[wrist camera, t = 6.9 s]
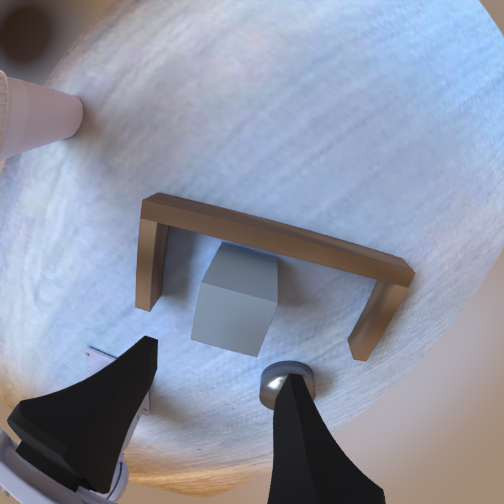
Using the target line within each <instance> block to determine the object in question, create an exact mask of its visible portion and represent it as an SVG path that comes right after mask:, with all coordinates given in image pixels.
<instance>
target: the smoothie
mask: <svg viewBox="0 0 504 504" xmlns="http://www.w3.org/2000/svg"><path fill="white" fill-rule="evenodd" d="M82 119H83V105H82V102H81V100H80V99H79V98H78V97H76V96H73V95H70V94H67V93H63V92H60V91H57V90H54V89H50V88H47V87H44V86H40V85H37V84H33V83H29V82H25V81H22V80H18V79H14V78H10V77H7V76H6V74H5V73H4V72H3V71H1V70H0V161H1V160H4V159H7V158H9V157H11V156H14V155H17V154H19V153H22V152H25V151H28V150H31V149H34V148H37V147H40V146H43V145H46V144H50V143H53V142H56V141H60V140H64V139H67V138H70V137H72V136H73V135H74V134H75V133H76V132H77V131H78V129H79V127H80V125H81V122H82Z"/></svg>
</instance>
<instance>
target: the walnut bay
mask: <svg viewBox="0 0 504 504" xmlns="http://www.w3.org/2000/svg"><path fill="white" fill-rule="evenodd" d="M169 226H173V227H177V228H181V229H185V230H189V231H193V232H197V233H201V234H205V235H208V236H212V237H216V238H220V239H224V240H228V241H232V242H236V243H240V244H243V245H247V246H251V247H255V248H259V249H263V250H267V251H270V252H274V253H278V254H282V255H286V256H290V257H293V258H297V259H301V260H305V261H309V262H312V263H316V264H320V265H324V266H328V267H331V268H335V269H339V270H343V271H347V272H350V273H354V274H358V275H362V276H365V277H369V278H373V279H377V280H378V281H377V283H376V285H375V287H374V290H373V292H372V294H371V296H370V298H369V300H368V302H367V304H366V306H365V308H364V310H363V312H362V314H361V316H360V318H359V320H358V322H357V324H356V325H355V327H354V329H353V331H352V333H351V335H350V336H349V338H348V343H349V346H350V350H351V353H352V356H353V360H360V361H367V359H368V358H369V356H370V354H371V353H372V351H373V350H374V348H375V347H376V345H377V343H378V342H379V340H380V338H381V337H382V335H383V333H384V332H385V330H386V328H387V327H388V325H389V323H390V321H391V319H392V318H393V316H394V314H395V312H396V310H397V309H398V307H399V305H400V303H401V301H402V299H403V297H404V295H405V293H406V291H407V289H408V287H409V285H410V283H411V281H412V279H413V277H414V275H415V272H414V271H413V270H412V269H411V268H410V267H409V265H408V264H407V263H406V262H405V261H404V260H403V259H402V258H399V257H396V256H393V255H390V254H387V253H383V252H380V251H377V250H374V249H370V248H367V247H364V246H361V245H357V244H354V243H351V242H347V241H344V240H340V239H337V238H334V237H330V236H327V235H323V234H320V233H316V232H313V231H309V230H305V229H302V228H298V227H295V226H291V225H287V224H284V223H280V222H276V221H272V220H269V219H265V218H261V217H257V216H253V215H249V214H245V213H242V212H238V211H234V210H230V209H226V208H222V207H217V206H213V205H209V204H205V203H201V202H197V201H192V200H188V199H184V198H179V197H175V196H171V195H166V194H162V193H156V194H154V195H152V196H150V197H148V198H146V199H143V200H142V208H141V217H140V227H139V238H138V251H137V269H136V303H135V307H137V308H139V309H142V310H145V311H148V312H150V311H151V309H152V308H153V306H154V305H155V303H156V302H157V301H158V299H159V298H160V296H161V293H162V281H163V271H164V262H165V253H166V245H167V237H168V229H169Z"/></svg>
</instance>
